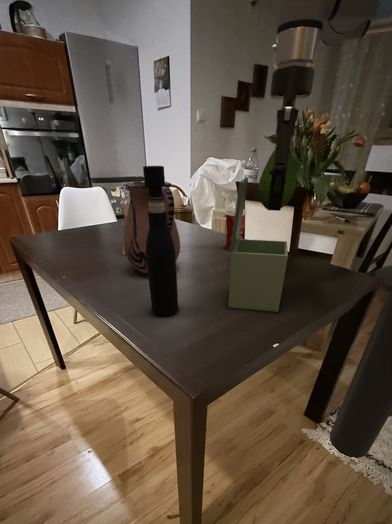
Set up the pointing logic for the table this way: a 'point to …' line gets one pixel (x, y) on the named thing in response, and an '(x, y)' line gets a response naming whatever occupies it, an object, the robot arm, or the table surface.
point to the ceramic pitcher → (145, 223)
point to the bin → (257, 274)
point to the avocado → (266, 179)
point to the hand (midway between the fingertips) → (274, 206)
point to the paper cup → (230, 223)
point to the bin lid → (239, 212)
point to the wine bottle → (160, 248)
